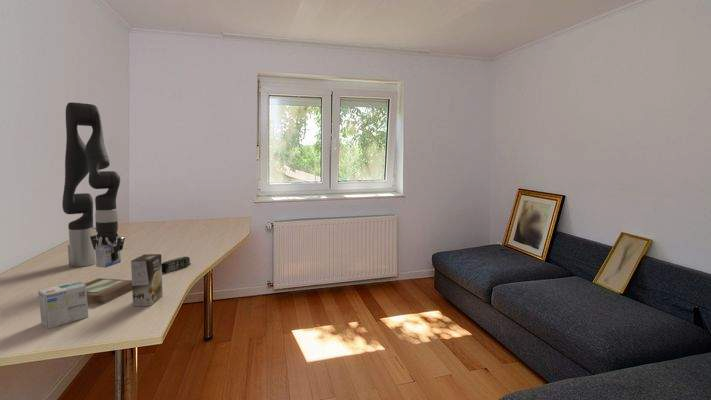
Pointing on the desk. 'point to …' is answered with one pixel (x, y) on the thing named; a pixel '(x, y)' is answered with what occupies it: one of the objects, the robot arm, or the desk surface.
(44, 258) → the desk surface
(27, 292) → the desk surface
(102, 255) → the medicine box
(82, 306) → the light bulb box
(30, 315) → the desk surface
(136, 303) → the coffee box
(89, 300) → the walnut plinth
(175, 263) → the dark remote control
